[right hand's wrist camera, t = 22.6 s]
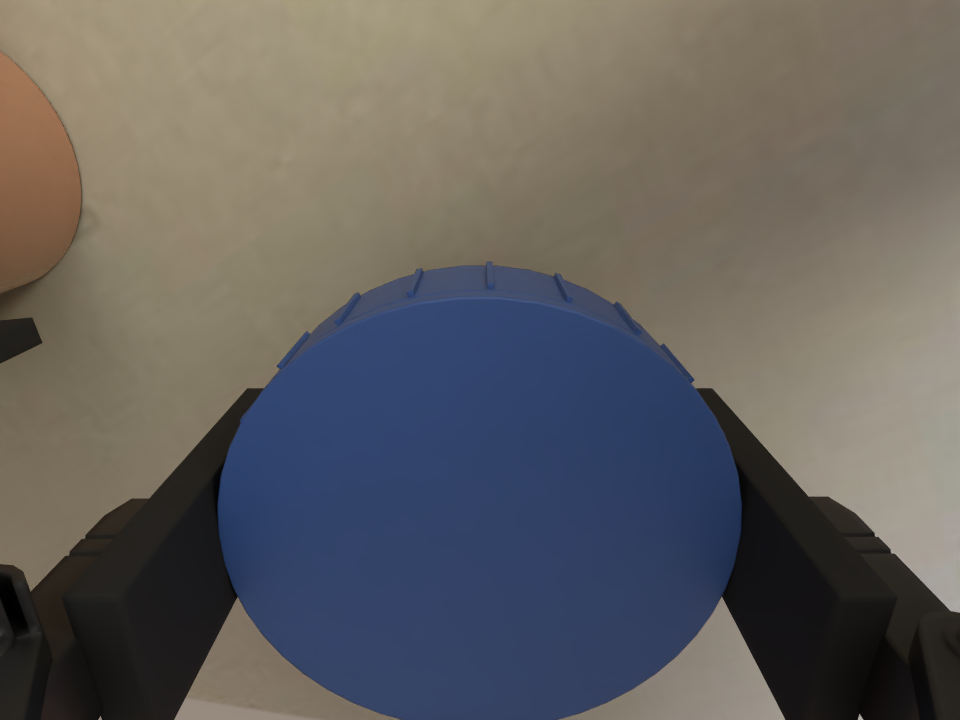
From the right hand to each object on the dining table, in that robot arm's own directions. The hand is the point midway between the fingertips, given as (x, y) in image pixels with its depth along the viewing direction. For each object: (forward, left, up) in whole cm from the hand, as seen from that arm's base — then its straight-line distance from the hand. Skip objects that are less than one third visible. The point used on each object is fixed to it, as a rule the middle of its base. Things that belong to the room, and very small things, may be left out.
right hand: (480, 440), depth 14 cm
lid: (0, 0, +3) cm, 3 cm away
